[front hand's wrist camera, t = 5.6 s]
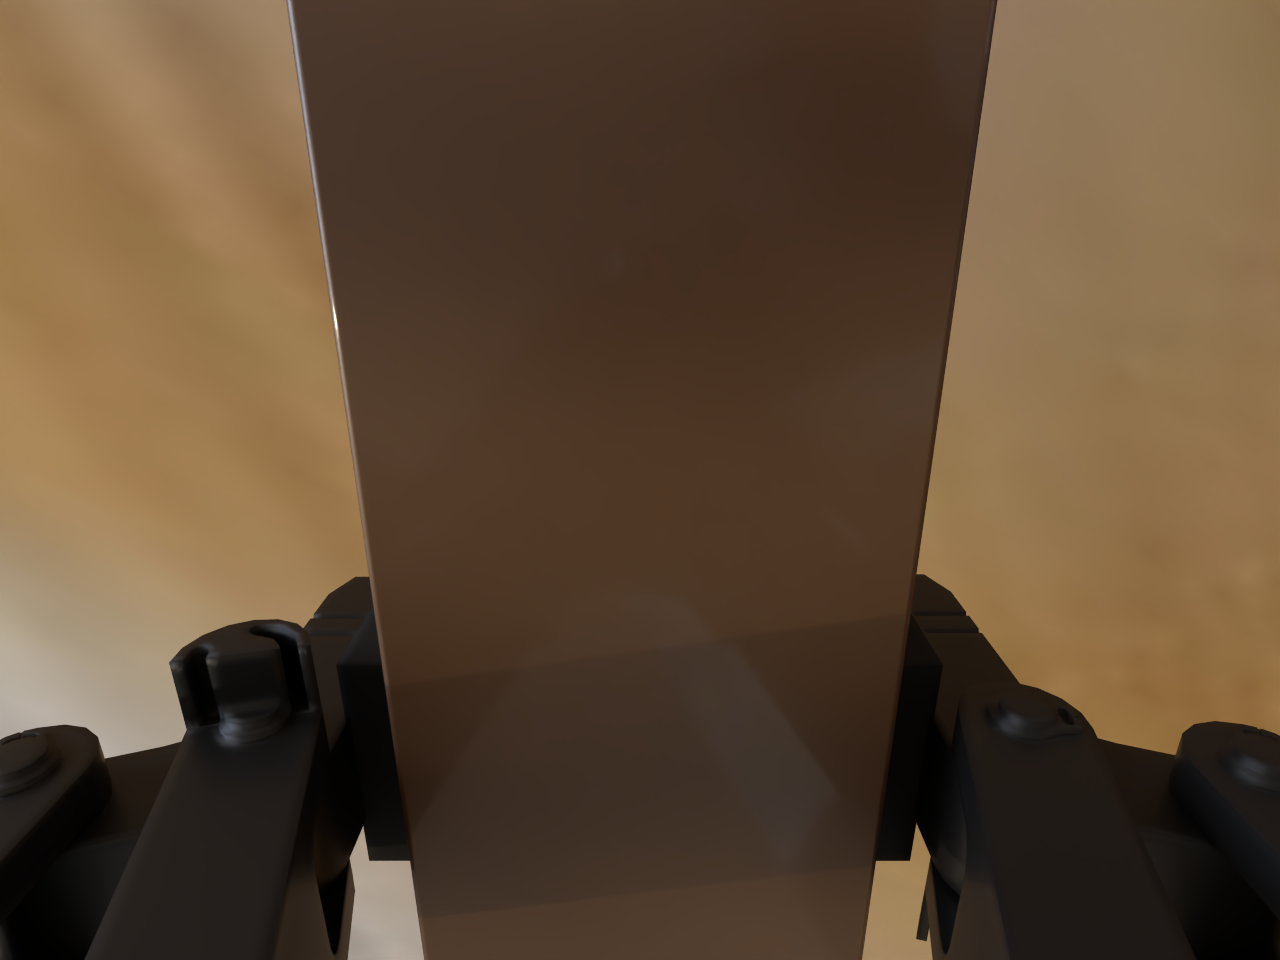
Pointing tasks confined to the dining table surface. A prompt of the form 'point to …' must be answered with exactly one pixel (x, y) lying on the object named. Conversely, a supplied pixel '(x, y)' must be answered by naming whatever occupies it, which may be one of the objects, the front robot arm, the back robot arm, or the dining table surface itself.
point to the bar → (642, 441)
